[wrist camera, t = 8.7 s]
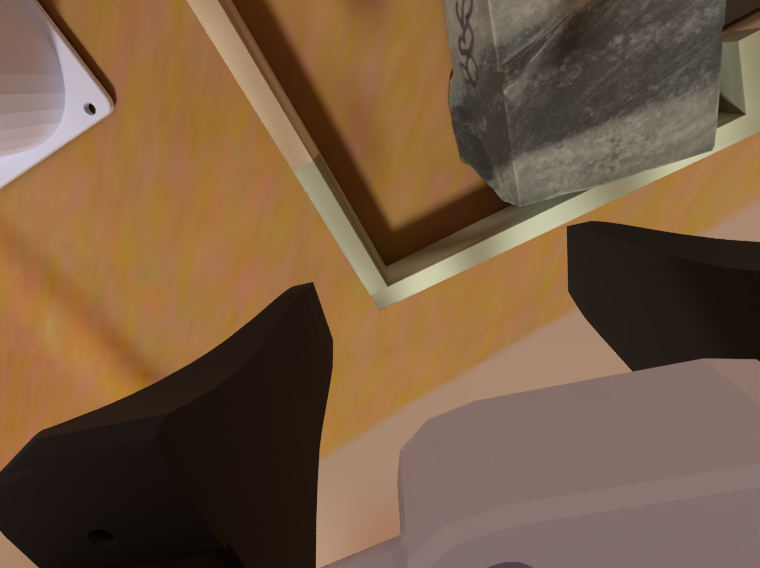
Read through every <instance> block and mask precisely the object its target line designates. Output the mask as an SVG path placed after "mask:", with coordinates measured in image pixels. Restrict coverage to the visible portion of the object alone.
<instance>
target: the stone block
mask: <svg viewBox="0 0 760 568" xmlns="http://www.w3.org/2000/svg"><path fill="white" fill-rule="evenodd" d="M442 2H443V6H444V10H445V17H446V31H447V37H448V42H449V47H450V52H451V60H452V64H453V75H452V78H451V80H450V91H449V97H448V103H449V108H450V113H451V117H452V126H453V130H454V134H455V138H456V142H457V146H458V150H459V154H460V159H461V162H463V163H465V164H470V165H471V166H472V167H473V168H474V170H475V171H476V172H477V173H478V174H479V176H480V177H481V178H482V179H483V180H484V181H485V182H486V183H487V184H488V185H489V186H491V187H492V188H493V189H494V191H495V192H496V193H497V195H498V196H499V197H500V198H501V200H503V201H505V202H509V203H511V204H513V205H514V204H516V205H517V206H519V207H522V206H526V205H530V204H533V203H536V202H539V201H543V200H547V199H551V198H554V197H557V196H560V195H564V194H567V193H572V192H577V191H583V190H588V189H591V188H594V187H598V186H602V185H605V184H608V183H611V182H614V181H617V180H620V179H623V178H626V177H629V176H632V175H635V174H638V173H640V172H643V171H646V170H651V169H655V168H658V167H661V166H664V165H668V164H671V163H674V162H678V161H681V160H684V159H688V158H691V157H694V156H697V155H700V154H703V153H706V152H709V151H712V150H713V148H714V146H715V137H716V129H717V117H718V105H719V90H720V77H721V65H722V27H723V25H724V23H725V6H726V0H442Z"/></svg>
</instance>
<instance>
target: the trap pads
mask: <svg viewBox="0 0 760 568" xmlns="http://www.w3.org/2000/svg"><path fill="white" fill-rule="evenodd" d="M759 7H760V0H726V6H725V23H724V25H723V26H725V25H727V24H729V23H730V22H732V21H734V20H736V19H738V18H740V17H742V16H744V15H746V14H747V13H749V12H751V11H753V10H755V9H757V8H759Z"/></svg>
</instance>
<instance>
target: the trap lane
mask: <svg viewBox="0 0 760 568" xmlns="http://www.w3.org/2000/svg"><path fill="white" fill-rule="evenodd" d="M187 1H188V3H189V5H190V6H191V8H192V10H193V11H194V13H195V14H196V16H197V18H198V19H199V21H200V22H201V24H202V26H203V27H204V29H205V30H206V32H207V34H208V35H209V37H210V38H211V40H212V42H213V43H214V45H215V46H216V48H217V50H218V51H219V53H220V55H221V56H222V58H223V59H224V61H225V63H226V64H227V66H228V67H229V69H230V71H231V72H232V74H233V75H234V77H235V79H236V80H237V82H238V83H239V85H240V87H241V88H242V90H243V91H244V93H245V95H246V96H247V98H248V100H249V101H250V103H251V104H252V106H253V108H254V109H255V111H256V112H257V114H258V116H259V117H260V119H261V120H262V122H263V124H264V125H265V127H266V128H267V130H268V132H269V133H270V135H271V136H272V138H273V140H274V141H275V143H276V145H277V146H278V148H279V149H280V151H281V153H282V154H283V156H284V157H285V159H286V161H287V162H288V164H289V165H290V167H291V169H292V170H293V172H294V173H295V175H296V177H297V178H298V180H299V182H300V183H301V185H302V186H303V188H304V190H305V191H306V193H307V194H308V196H309V198H310V199H311V201H312V202H313V204H314V206H315V207H316V209H317V210H318V212H319V214H320V215H321V217H322V218H323V220H324V222H325V223H326V225H327V227H328V228H329V230H330V231H331V233H332V235H333V236H334V238H335V239H336V241H337V243H338V244H339V246H340V247H341V249H342V251H343V252H344V254H345V255H346V257H347V259H348V260H349V262H350V263H351V265H352V267H353V268H354V270H355V272H356V273H357V275H358V276H359V278H360V280H361V281H362V283H363V284H364V286H365V288H366V289H367V291H368V292H369V294H370V296H371V297H372V299H373V300H374V302H375V304H376V305H377V307H378V308H379V310H381V309H383V308H385V307H387V306H390V305H392V304H394V303H396V302H398V301H400V300H402V299H404V298H407V297H409V296H411V295H413V294H415V293H417V292H419V291H422V290H424V289H426V288H428V287H430V286H432V285H434V284H436V283H439V282H441V281H443V280H445V279H447V278H449V277H451V276H453V275H456V274H458V273H460V272H462V271H464V270H466V269H468V268H470V267H473V266H475V265H477V264H479V263H481V262H483V261H485V260H487V259H490V258H492V257H494V256H496V255H498V254H500V253H502V252H504V251H507V250H509V249H511V248H513V247H515V246H517V245H519V244H521V243H524V242H526V241H528V240H530V239H532V238H534V237H536V236H538V235H541V234H543V233H545V232H547V231H549V230H551V229H553V228H556V227H558V226H560V225H562V224H564V223H566V222H568V221H570V220H573V219H575V218H577V217H579V216H581V215H583V214H585V213H587V212H590V211H592V210H594V209H596V208H598V207H600V206H602V205H604V204H607V203H609V202H611V201H613V200H615V199H617V198H619V197H621V196H624V195H626V194H628V193H630V192H632V191H634V190H636V189H638V188H641V187H643V186H645V185H647V184H649V183H651V182H653V181H655V180H658V179H660V178H662V177H664V176H666V175H668V174H670V173H672V172H675V171H677V170H679V169H681V168H683V167H685V166H687V165H690V164H692V163H694V162H696V161H698V160H700V159H702V158H704V157H707V156H709V155H711V154H713V153H715V152H717V151H719V150H721V149H724V148H726V147H728V146H730V145H732V144H734V143H736V142H738V141H741V140H743V139H745V138H747V137H749V136H751V135H753V134H755V133H758V132H760V11H758V12H757V13H755V14H753V15H751V16H749V17H747V18H745V19H743V20H741V21H739V22H738V23H736V24H734V25H732V26H730V27H728V28H726V29H724V30H722V65H721V77H720V90H719V105H718V117H717V129H716V137H715V146H714V148H713V150H712V151H709V152H706V153H703V154H700V155H697V156H694V157H691V158H688V159H684V160H681V161H678V162H674V163H671V164H668V165H664V166H661V167H658V168H655V169H651V170H646V171H643V172H640V173H638V174H635V175H632V176H629V177H626V178H623V179H620V180H617V181H614V182H611V183H608V184H605V185H602V186H598V187H594V188H591V189H588V190H583V191H577V192H572V193H567V194H564V195H560V196H557V197H554V198H551V199H547V200H543V201H539V202H536V203H533V204H530V205H526V206H522V207H519V206H517V205H516V204H514V205H513V204H512V205H510V206H508V207H506V208H504V209H502V210H500V211H498V212H496V213H494V214H492V215H490V216H488V217H486V218H484V219H482V220H480V221H478V222H476V223H474V224H471V225H469V226H467V227H465V228H463V229H461V230H459V231H457V232H455V233H453V234H451V235H449V236H447V237H445V238H443V239H441V240H439V241H437V242H435V243H433V244H431V245H429V246H427V247H425V248H423V249H421V250H419V251H417V252H415V253H413V254H411V255H409V256H407V257H405V258H402V259H400V260H398V261H396V262H394V263H392V264H390V265H388V266H386V265H385V264H384V262H383V260H382V258H381V257H380V255H379V253H378V252H377V250H376V248H375V246H374V245H373V243H372V241H371V240H370V238H369V236H368V234H367V233H366V231H365V229H364V227H363V226H362V224H361V222H360V221H359V219H358V217H357V215H356V214H355V212H354V210H353V208H352V207H351V205H350V203H349V202H348V200H347V198H346V196H345V195H344V193H343V191H342V189H341V188H340V186H339V184H338V183H337V181H336V179H335V177H334V176H333V174H332V172H331V171H330V169H329V167H328V165H327V164H326V162H325V160H324V158H323V157H322V155H321V153H320V152H319V150H318V148H317V146H316V145H315V143H314V141H313V139H312V138H311V136H310V134H309V133H308V131H307V129H306V127H305V126H304V124H303V122H302V120H301V119H300V117H299V115H298V114H297V112H296V110H295V108H294V107H293V105H292V103H291V102H290V100H289V98H288V96H287V95H286V93H285V91H284V89H283V88H282V86H281V84H280V83H279V81H278V79H277V77H276V76H275V74H274V72H273V70H272V69H271V67H270V65H269V64H268V62H267V60H266V58H265V57H264V55H263V53H262V51H261V50H260V48H259V46H258V45H257V43H256V41H255V39H254V38H253V36H252V34H251V33H250V31H249V29H248V27H247V26H246V24H245V22H244V20H243V19H242V17H241V15H240V14H239V12H238V10H237V8H236V7H235V5H234V3H233V1H232V0H187Z"/></svg>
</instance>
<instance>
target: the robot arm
mask: <svg viewBox="0 0 760 568" xmlns="http://www.w3.org/2000/svg"><path fill="white" fill-rule="evenodd" d="M90 103H91V104H92V105H94V107H95V109H96V113H95V114H93V113H92V112H91V111H90V109H89V104H90ZM113 109H114V103H113V100H112V98H111V97H110V95H109V94H108V93H107V92H106V90H105V89H104V88H103V86H102V85H101V84H100V82H99V81H98V80H97V78H96V77H95V76H94V74H93V73H92V72H91V71H90V69H89V68H88V67H87V65H86V64H85V63H84V61H83V60H82V59H81V57H80V56H79V55H78V54H77V52H76V51H75V50H74V48H73V47H72V46H71V44H70V43H69V42H68V40H67V39H66V38H65V36H64V35H63V34H62V33H61V31H60V30H59V29H58V27H57V26H56V25H55V23H54V22H53V21H52V19H51V18H50V17H49V15H48V14H47V13H46V12H45V10H44V9H43V8H42V6H41V5H40V4H39V2H38V1H37V0H0V189H1V188H2V187H4V186H5V185H6V184H8V183H9V182H11V181H12V180H14V179H15V178H17V177H18V176H20V175H21V174H23V173H24V172H26V171H27V170H28V169H30V168H31V167H33V166H34V165H36V164H37V163H39V162H40V161H42V160H43V159H45V158H46V157H47V156H49V155H50V154H52V153H53V152H55V151H56V150H58V149H59V148H61V147H62V146H64V145H65V144H67V143H68V142H69V141H71V140H72V139H74V138H75V137H77V136H78V135H80V134H81V133H83V132H84V131H86V130H87V129H89V128H90V127H91V126H93V125H94V124H96V123H97V122H99V121H100V120H102V119H103V118H105V117H106V116H108V115H109V114H110V113H111V112H112V111H113ZM567 255H568V292H569V293H570V295H571V297H572V298H573V300H574V302H575V303H576V305H577V306H578V308H579V310H580V311H581V313H582V314H583V315H584V317H585V318H586V319H587V321H588V322H589V323H590V324H591V325H592V327H593V328H594V329H595V330H596V331H597V332H598V333H599V335H600V336H601V337H602V338H603V339H604V340H605V341H606V342H607V343H608V345H609V346H610V347H611V348H612V349H613V350H614V351H615V352H616V353H617V355H618V356H619V357H620V358H621V359H622V360H623V361H624V362H625V363H626V365H627V366H628V367H629V368H630V369H631V370H632V371H633V372H628V373H623V374H618V375H613V376H607V377H601V378H596V379H590V380H585V381H580V382H575V383H570V384H564V385H558V386H553V387H547V388H542V389H537V390H531V391H526V392H521V393H515V394H510V395H505V396H499V397H494V398H489V399H483V400H478V401H473V402H471V403H468V404H466V405H463V406H461V407H458V408H456V409H453V410H451V411H448V412H446V413H443V414H441V415H438V416H436V417H433V418H431V419H428V420H427V421H426V422H425V423H424V424H423V425H422V427H421V428H420V429H419V430H418V431H417V432H416V433H415V434H414V435H413V437H412V438H411V439H410V440H409V441H408V442H407V443H406V444H405V445H404V447H403V448H402V449H401V450H400V457H399V470H398V499H399V513H400V514H399V515H400V531H401V535H399V536H396V537H394V538H392V539H389V540H387V541H385V542H382V543H379V544H377V545H375V546H372V547H370V548H367V549H365V550H362V551H360V552H358V553H355V554H353V555H350V556H348V557H345V558H343V559H341V560H338V561H336V562H334V563H331V564H329V565H326V566H324V567H321V568H760V242H751V241H750V242H749V241H736V240H725V239H715V238H707V237H699V236H691V235H684V234H677V233H670V232H664V231H658V230H652V229H646V228H641V227H635V226H629V225H623V224H616V223H609V222H599V221H589V222H585V223H580V224H575V225H571V226H567ZM332 367H333V339H332V336H331V333H330V330H329V327H328V324H327V321H326V318H325V315H324V313H323V310H322V307H321V304H320V301H319V298H318V295H317V292H316V289H315V286H314V284H313V282H311V283H306V284H302V285H297V286H293V287H291V288H289V289H288V290H286V291H285V292H284V293H283V294H281V295H280V296H279V297H278V298H276V299H275V300H274V301H273V302H272V303H271V304H270V305H268V306H267V307H266V308H265V309H264V310H263V311H261V312H260V313H259V314H258V315H257V316H256V317H254V318H253V319H252V320H251V321H250V322H248V323H247V324H246V325H244V326H243V327H242V328H241V329H239V330H238V331H237V332H236V333H234V334H233V335H232V336H231V337H229V338H228V339H227V340H225V341H224V342H223V343H221V344H220V345H218V346H217V347H215V348H214V349H213V350H211V351H209V352H208V353H206V354H205V355H203V356H202V357H200V358H199V359H197V360H195V361H194V362H192V363H191V364H189V365H187V366H185V367H183V368H182V369H180V370H178V371H176V372H174V373H173V374H171V375H169V376H167V377H165V378H164V379H162V380H160V381H158V382H156V383H154V384H152V385H150V386H148V387H146V388H144V389H142V390H140V391H138V392H136V393H134V394H131V395H129V396H127V397H125V398H123V399H120V400H118V401H116V402H114V403H111V404H109V405H107V406H104V407H102V408H100V409H97V410H94V411H92V412H89V413H87V414H84V415H81V416H79V417H76V418H74V419H71V420H68V421H66V422H63V423H61V424H58V425H55V426H53V427H50V428H47V429H44V430H42V431H40V432H39V433H38V434H36V435H35V436H34V437H33V438H32V439H31V440H30V441H29V442H28V443H27V444H26V445H25V446H24V447H23V449H22V450H21V451H20V452H19V453H18V454H17V455H16V456H15V457H14V458H13V459H12V460H11V461H10V462H9V463H8V464H7V465H6V466H5V467H4V468H3V470H2V471H1V472H0V531H1V532H2V533H3V535H4V536H5V537H6V538H7V539H9V540H10V541H11V542H12V543H13V544H14V545H15V546H16V547H17V548H18V549H19V550H20V551H22V552H23V553H24V554H25V555H26V556H27V557H28V558H29V559H30V560H31V561H32V562H33V563H34V564H36V565H37V566H38V567H39V568H316V512H317V485H318V466H319V449H320V441H321V433H322V427H323V421H324V415H325V410H326V404H327V398H328V392H329V387H330V380H331V374H332Z"/></svg>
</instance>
